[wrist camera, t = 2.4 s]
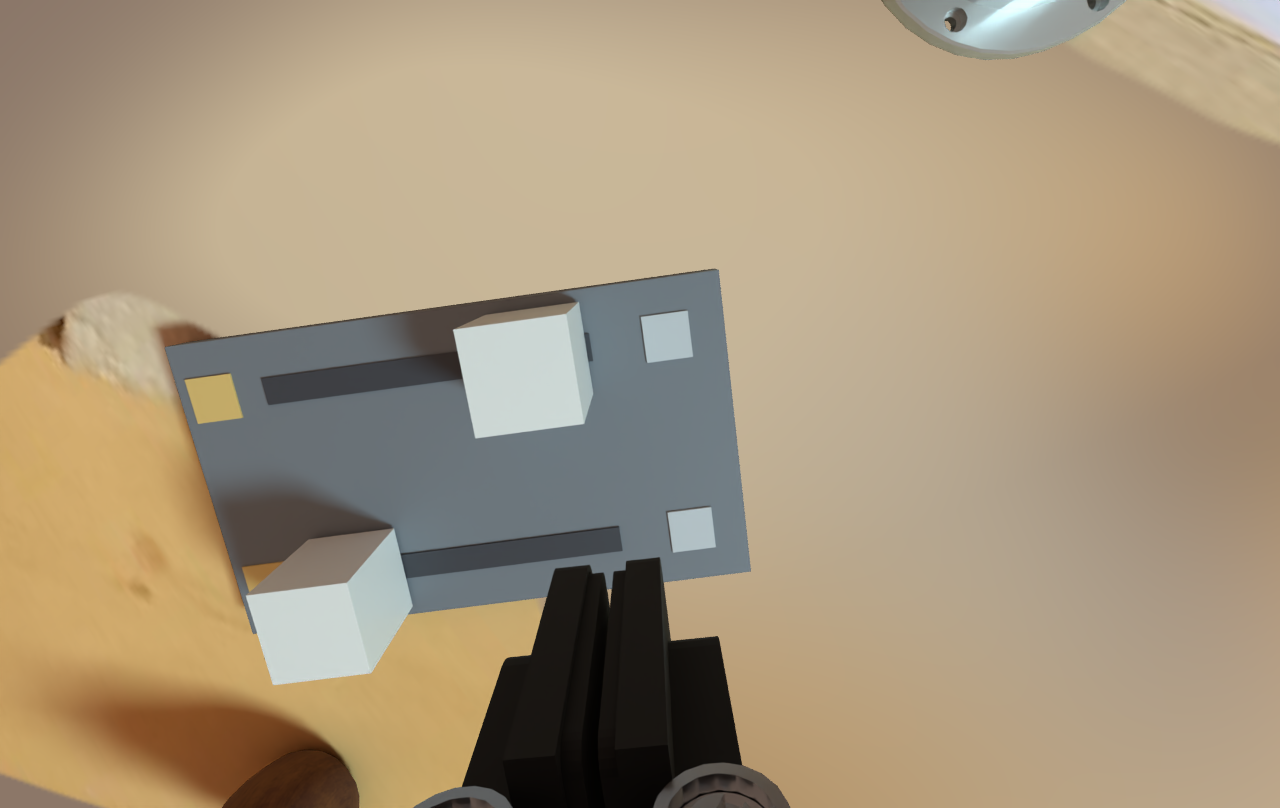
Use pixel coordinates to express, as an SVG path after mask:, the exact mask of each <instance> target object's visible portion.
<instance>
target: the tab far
mask: <svg viewBox="0 0 1280 808" xmlns="http://www.w3.org/2000/svg"><path fill="white" fill-rule="evenodd" d="M246 598H247V602H248V605H249V608H250V611H251V615H252V618H253V621H254V624H255V628H256V631H257V634H258V637H259V641H260V644H261V647H262V650H263V654H264V657H265V660H266V663H267V667H268V670H269V673H270V676H271V680H272V683H273V685H279V684H287V683H295V682H303V681H311V680H319V679H328V678H336V677H344V676H352V675H360V674H368V673H371V672H372V671H373V669H374V668H375V666H376V664H377V663H378V661H379V660H380V658H381V656H382V655H383V653H384V652H385V650H386V648H387V647H388V645H389V644H390V642H391V640H392V639H393V637H394V636H395V634H396V632H397V631H398V629H399V628H400V626H401V624H402V623H403V621H404V620H405V618H406V616H407V615H408V613H409V612H410V610H411V608H412V607H413V605H412V601H411V597H410V592H409V588H408V584H407V580H406V576H405V572H404V568H403V564H402V559H401V555H400V551H399V547H398V543H397V539H396V535H395V531H394V528H392V529H385V530H377V531H369V532H361V533H354V534H346V535H338V536H331V537H323V538H315V539H308V540H307V541H306V542H305V543H304V544H303V545H302V546H301V547H300V548H298V549H297V550H296V551H295V552H294V553H293V554H292V555H291V556H289V557H288V558H287V559H286V560H285V561H284V562H283V563H282V564H281V565H279V566H278V567H277V568H276V569H275V570H274V571H273V572H272V573H270V574H269V575H268V576H267V577H266V578H265V579H264V580H263V581H262V582H260V583H259V584H258V585H257V586H256V587H255V588H254V589H253V590H251V591H250V592H249V593H248V594H247V595H246Z"/></svg>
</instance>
